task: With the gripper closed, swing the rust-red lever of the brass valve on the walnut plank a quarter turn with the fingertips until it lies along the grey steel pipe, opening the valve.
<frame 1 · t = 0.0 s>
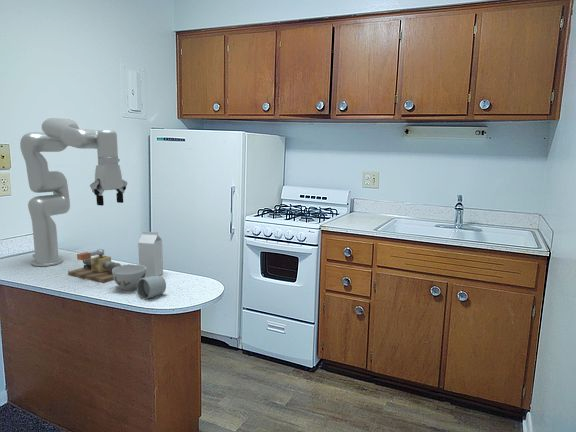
hand: (110, 203, 173), 31 cm above the countertop, tool pointing down, fingers open, 9 cm apart
teacup: (132, 287, 166), on the countertop
valve lever: (91, 254, 178), point 10 cm above the countertop, hinge at 0.0°
milk carton: (151, 275, 182), on the countertop
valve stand: (101, 273, 183), on the countertop
ceramic mug: (149, 296, 158), on the countertop
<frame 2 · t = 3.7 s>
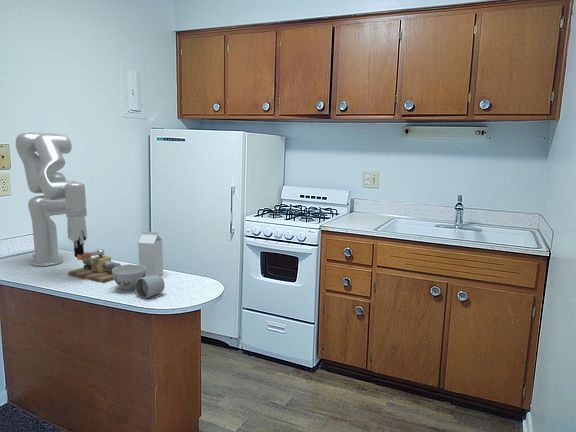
hand: (79, 256, 176), 9 cm above the countertop, tool pointing down, fingers closed
valve lever: (91, 254, 178), point 10 cm above the countertop, hinge at 0.3°, touching gripper
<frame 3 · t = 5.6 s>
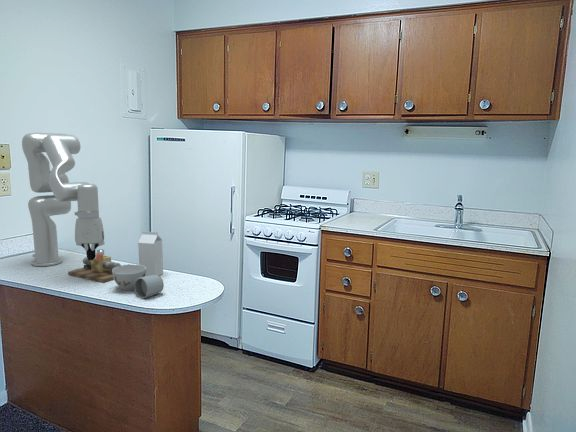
hand: (91, 259, 173), 9 cm above the countertop, tool pointing down, fingers closed
valve lever: (100, 254, 178), point 10 cm above the countertop, hinge at 49.4°, touching gripper
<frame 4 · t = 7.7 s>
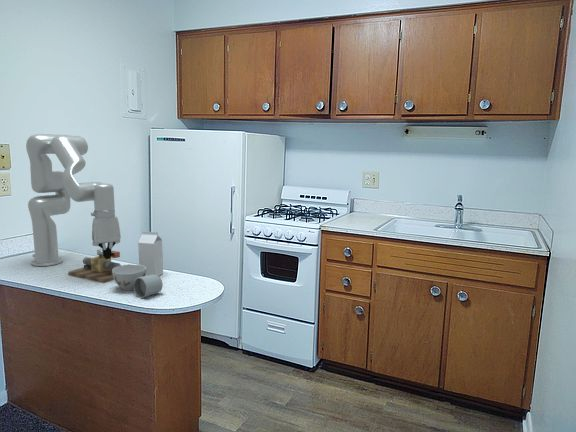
hand: (107, 258, 175), 9 cm above the countertop, tool pointing down, fingers closed
valve lever: (107, 253, 180), point 10 cm above the countertop, hinge at 90.0°
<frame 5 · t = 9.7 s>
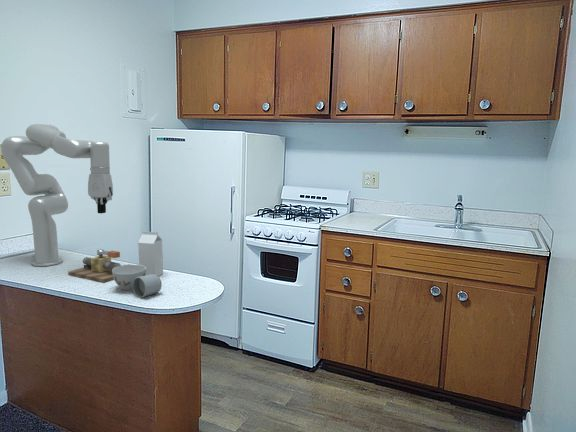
hand: (101, 212, 186), 26 cm above the countertop, tool pointing down, fingers closed
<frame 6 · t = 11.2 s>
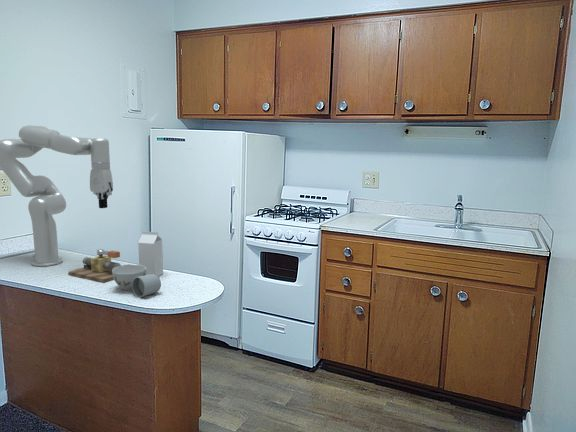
hand: (103, 207, 190), 27 cm above the countertop, tool pointing down, fingers closed
at the end: valve lever at +90° (first picture: +0°); milk carton moved 0.2 cm from its start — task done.
